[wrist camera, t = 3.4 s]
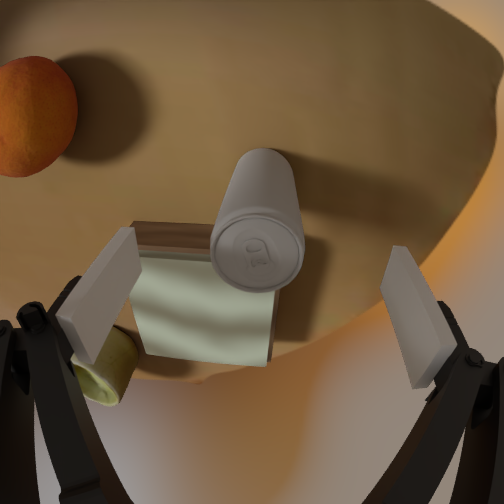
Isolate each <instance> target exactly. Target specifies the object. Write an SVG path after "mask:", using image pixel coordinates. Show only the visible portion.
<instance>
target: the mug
mask: <svg viewBox="0 0 504 504" xmlns="http://www.w3.org/2000/svg"><path fill="white" fill-rule="evenodd" d="M138 359H139V354H138V351H137V348H136V346H135V344H134V342H133V340H132V339H131V338H130V337H129V336H128V335H126V334H125V333H124V332H121V331H120V330H119V329H116V328H115V327H113V326H112V328H111V330H110V332H109V334H108V336H107V338H106V340H105V342H104V344H103V346H102V348H101V350H100V352H99V354H98V356H97V358H96V360H95V363H94V365H92V364H88V363H84V362H80V361H79V360H78V359H77V357H76V355H75V353H74V354H73V355H72V357H71V361H72V362H73V365H74V368H75V371H76V374H77V378H78V381H79V384H80V387H81V390H82V393H83V396H85V397H86V398H88V399H89V400H93V401H97V402H98V403H100V404H102V405H106V406H115V405H117V404H119V403H120V401H121V399H122V397H123V395H124V393H125V391H126V388H127V386H128V384H129V381H130V379H131V376H132V374H133V372H134V370H135V368H136V365H137V363H138Z"/></svg>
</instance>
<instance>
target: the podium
mask: <svg viewBox="0 0 504 504" xmlns="http://www.w3.org/2000/svg"><path fill="white" fill-rule="evenodd" d="M130 227H134V229H135V235H136V241H137V246H138V252H139V257H140V262H141V267H142V272H141V274H140V276H139V278H138V280H137V281H136V283H135V285H134V287H133V289H132V290H131V292H130V294H129V299H130V302H131V306H132V310H133V313H134V316H135V320H136V323H137V326H138V330H139V333H140V336H141V339H142V342H143V345H144V348H145V351H146V354H150V355H156V356H163V357H170V358H178V359H186V360H194V361H203V362H212V363H223V364H234V365H247V366H262V367H266V363H267V362H271V356H272V349H273V342H274V334H275V326H276V318H277V311H278V302H279V294H280V289H278V290H275V291H271V292H267V293H251V292H245V291H242V290H239V289H236V288H234V287H232V286H230V285H229V284H227V283H226V282H225V281H223V280H222V279H221V278H220V277H219V276H218V274H217V273H216V271H215V269H214V268H213V266H212V262H211V258H210V237H211V234H212V231H213V228H214V225H207V224H187V223H165V222H141V221H133V223H132V224H131V225H130Z"/></svg>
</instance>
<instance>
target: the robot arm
mask: <svg viewBox="0 0 504 504" xmlns="http://www.w3.org/2000/svg"><path fill="white" fill-rule="evenodd" d="M141 272H142V267H141V262H140V257H139V252H138V246H137V241H136V235H135V229H134V227H121V228H120V229H119V230H118V231H117V233H116V234H115V235H114V236H113V238H112V239H111V240H110V241H109V243H108V244H107V245H106V246H105V248H104V249H103V250H102V251H101V253H100V254H99V255H98V256H97V258H96V259H95V260H94V262H93V263H92V264H91V266H90V267H89V268H88V270H87V271H86V272H85V274H84V275H83V276H76V277H75V278H74V279H72V280H71V281H69V283H68V284H67V285H66V287H65V288H64V291H62V292H61V293H60V295H59V297H57V299H56V300H55V302H54V303H53V304H52V306H51V307H50V309H49V310H48V312H47V313H46V311H45V309H44V307H43V304H42V303H40V302H36V301H34V302H29V303H27V304H25V305H24V306H22V307H21V308H20V309H19V311H18V313H17V316H16V318H17V320H18V322H19V324H20V326H21V327H22V328H13V326H12V325H11V323H10V321H8V320H1V321H0V504H40V498H39V491H38V484H37V473H36V461H35V443H34V399H35V403H36V408H37V412H38V416H39V420H40V424H41V428H42V432H43V435H44V439H45V443H46V446H47V449H48V452H49V455H50V459H51V462H52V465H53V468H54V470H55V473H56V476H57V479H58V481H59V484H60V487H61V493H60V495H59V502H60V504H134V503H133V501H132V500H131V499H130V497H129V496H128V494H127V493H126V491H125V489H124V487H123V485H122V483H121V481H120V479H119V477H118V475H117V474H116V471H115V469H114V468H113V466H112V463H111V461H110V459H109V457H108V455H107V453H106V450H105V448H104V446H103V444H102V442H101V439H100V437H99V435H98V432H97V430H96V427H95V425H94V422H93V420H92V417H91V415H90V412H89V409H88V407H87V404H86V401H85V399H84V396H83V393H82V390H81V387H80V384H79V381H78V378H77V374H76V371H75V368H74V365H73V362H72V361H71V357H72V355H73V354H74V353H75V355H76V357H77V359H78V360H79V361H80V362H84V363H88V364H92V365H94V363H95V360H96V358H97V356H98V354H99V352H100V350H101V348H102V346H103V344H104V342H105V340H106V338H107V336H108V334H109V332H110V330H111V328H112V326H113V324H114V322H115V320H116V318H117V316H118V315H119V313H120V311H121V309H122V307H123V305H124V303H125V301H126V300H127V298H128V296H129V294H130V292H131V290H132V289H133V287H134V285H135V283H136V281H137V280H138V278H139V276H140V274H141ZM380 290H381V293H382V296H383V298H384V301H385V304H386V307H387V309H388V313H389V315H390V318H391V321H392V324H393V327H394V330H395V333H396V336H397V339H398V342H399V346H400V349H401V352H402V355H403V359H404V362H405V365H406V368H407V372H408V376H409V379H410V383H411V386H412V389H418V388H427V387H428V386H429V385H430V383H431V382H432V381H433V379H434V382H435V385H436V387H435V389H434V390H433V391H432V392H431V393H430V395H429V396H428V397H427V398H426V400H425V401H427V403H426V405H425V407H424V409H423V411H422V412H421V414H420V416H419V418H418V420H417V422H416V423H415V425H414V427H413V429H412V430H411V432H410V434H409V435H408V437H407V439H406V440H405V442H404V444H403V445H402V447H401V449H400V450H399V452H398V453H397V455H396V457H395V458H394V460H393V461H392V463H391V464H390V466H389V467H388V469H387V470H386V471H385V473H384V474H383V476H382V477H381V479H380V480H379V482H378V483H377V484H376V486H375V487H374V488H373V490H372V491H371V492H370V493H369V495H368V496H367V498H366V499H365V500H364V501H363V503H362V504H428V503H429V501H430V500H431V498H432V496H433V495H434V493H435V491H436V489H437V487H438V485H439V484H440V482H441V480H442V478H443V476H444V474H445V472H446V470H447V468H448V466H449V463H450V462H451V459H452V457H453V455H454V453H455V451H456V449H457V446H458V444H459V441H460V439H461V437H462V434H463V432H464V429H465V434H464V441H463V447H462V452H461V457H460V463H459V467H458V472H457V476H456V481H455V485H454V488H453V492H452V496H451V500H450V503H449V504H504V357H502V358H501V359H500V361H499V362H498V364H496V363H491V362H487V361H485V360H484V358H483V356H482V355H481V354H480V353H479V352H478V351H476V350H475V349H472V348H469V346H468V344H467V342H466V340H465V337H464V335H463V333H462V331H461V329H460V327H459V326H458V325H457V324H458V323H457V321H456V319H455V318H454V315H453V313H452V312H451V310H450V308H449V307H448V306H447V305H446V304H445V303H444V302H443V301H436V299H435V297H434V295H433V293H432V291H431V289H430V288H429V286H428V284H427V282H426V280H425V278H424V276H423V275H422V273H421V271H420V269H419V267H418V266H417V264H416V262H415V260H414V259H413V257H412V255H411V254H410V252H409V250H408V248H407V247H406V246H395V245H393V248H392V251H391V255H390V258H389V261H388V264H387V267H386V271H385V274H384V277H383V280H382V283H381V285H380ZM465 427H466V428H465Z"/></svg>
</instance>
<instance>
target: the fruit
mask: <svg viewBox="0 0 504 504" xmlns="http://www.w3.org/2000/svg"><path fill="white" fill-rule="evenodd" d="M77 116H78V104H77V97H76V91H75V88H74V85H73V83H72V81H71V79H70V78H69V76H68V75H67V74H66V73H65V72H64V71H63V69H62V68H61V67H60V66H59V65H57V64H56V63H55V62H53V61H52V60H50V59H48V58H45V57H40V56H29V57H24V58H19V59H16V60H13V61H10V62H9V63H7V64H5V65H4V66H2V67H0V174H1V175H4V176H9V177H27V176H30V175H33V174H35V173H38V172H40V171H42V170H43V169H45V168H46V167H48V166H49V165H51V164H52V163H53V162H54V161H55V160H56V159H57V158H58V157H59V156H60V155H61V153H62V152H63V151H64V150H65V149H66V148H67V146H68V145H69V143H70V142H71V140H72V138H73V136H74V132H75V127H76V123H77Z"/></svg>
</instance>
